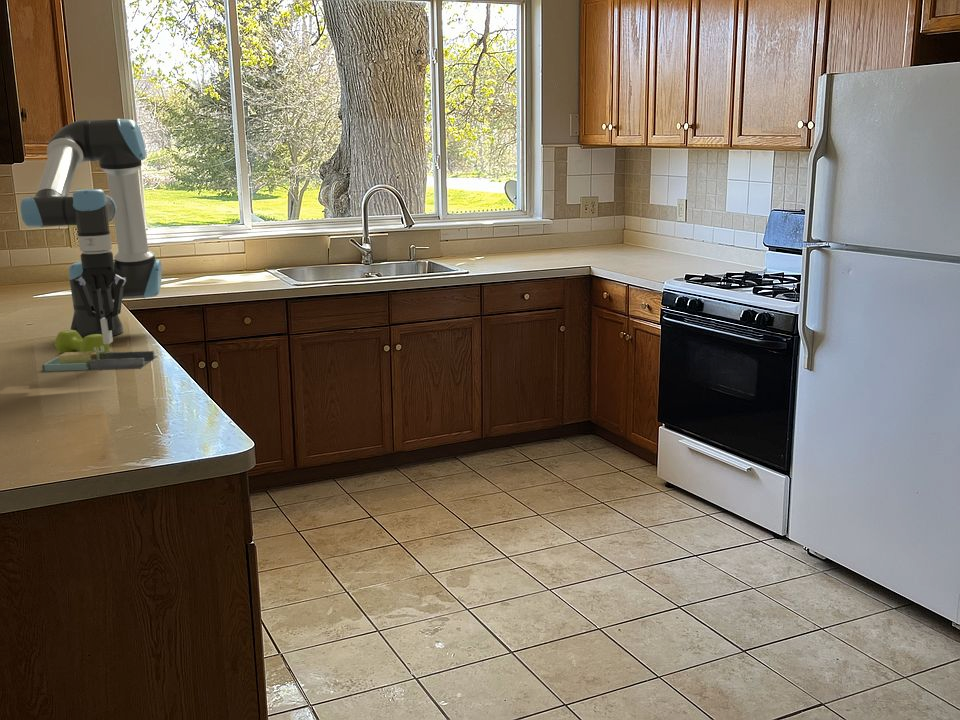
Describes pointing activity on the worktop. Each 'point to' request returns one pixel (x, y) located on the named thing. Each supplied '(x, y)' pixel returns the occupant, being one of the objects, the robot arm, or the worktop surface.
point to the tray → (64, 365)
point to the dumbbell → (80, 342)
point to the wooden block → (67, 358)
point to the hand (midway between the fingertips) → (108, 342)
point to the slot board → (121, 360)
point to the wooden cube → (85, 357)
